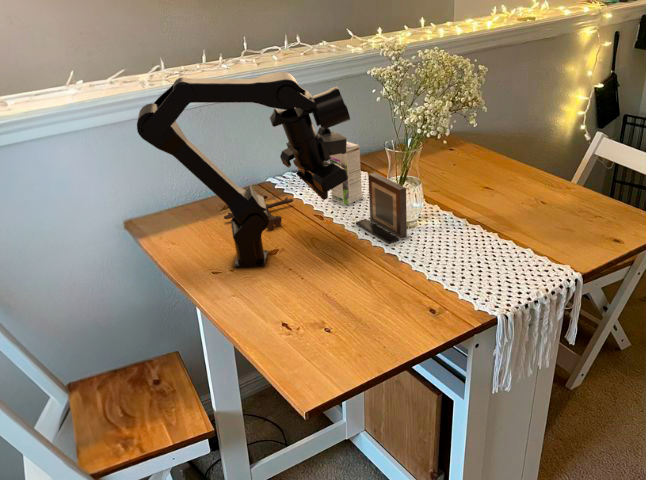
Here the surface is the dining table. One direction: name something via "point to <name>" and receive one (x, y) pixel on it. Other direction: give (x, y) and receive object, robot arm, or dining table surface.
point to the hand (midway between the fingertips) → (325, 198)
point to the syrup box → (352, 186)
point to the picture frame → (387, 204)
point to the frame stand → (377, 231)
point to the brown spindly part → (272, 219)
